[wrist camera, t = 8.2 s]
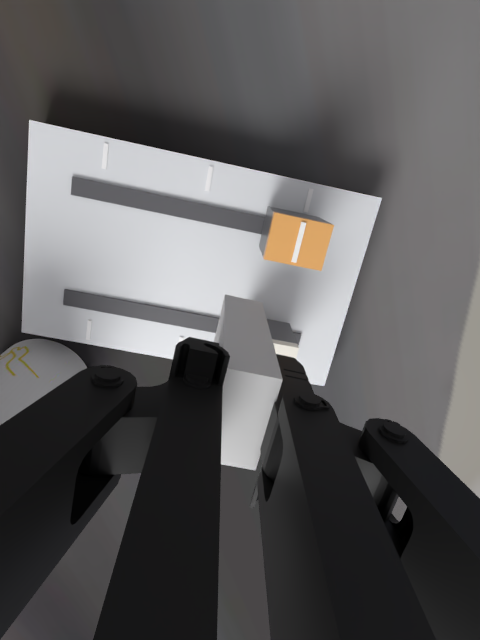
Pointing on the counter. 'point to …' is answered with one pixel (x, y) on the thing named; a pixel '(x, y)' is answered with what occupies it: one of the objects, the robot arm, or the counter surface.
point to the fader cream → (283, 338)
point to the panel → (174, 247)
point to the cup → (33, 373)
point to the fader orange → (295, 238)
